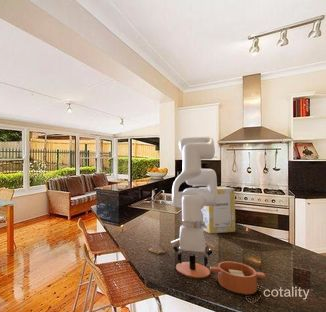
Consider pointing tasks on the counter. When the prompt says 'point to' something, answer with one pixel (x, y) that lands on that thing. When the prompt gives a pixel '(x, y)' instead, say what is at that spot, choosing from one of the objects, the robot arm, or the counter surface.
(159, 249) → the shard
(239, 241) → the counter surface
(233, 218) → the pasta box
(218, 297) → the counter surface
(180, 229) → the robot arm
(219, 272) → the pan
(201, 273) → the lid
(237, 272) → the block
